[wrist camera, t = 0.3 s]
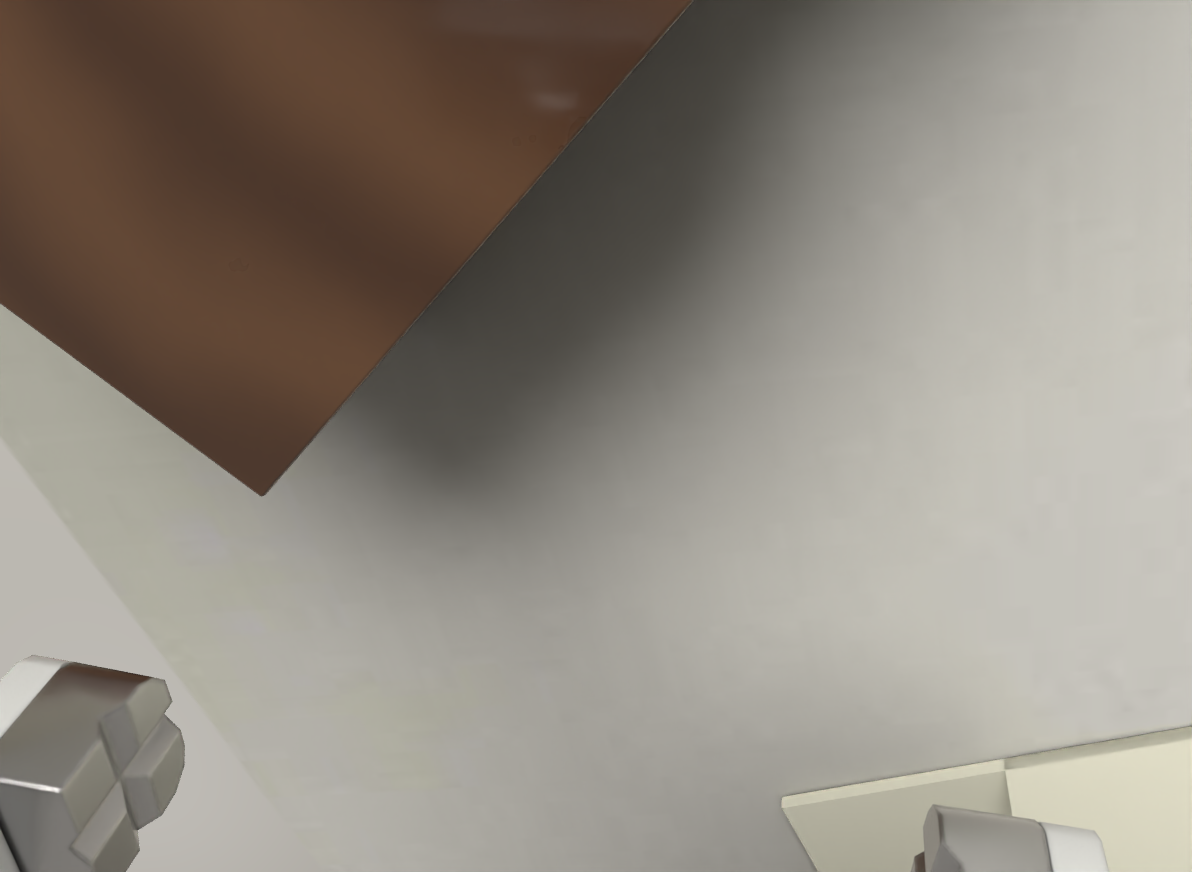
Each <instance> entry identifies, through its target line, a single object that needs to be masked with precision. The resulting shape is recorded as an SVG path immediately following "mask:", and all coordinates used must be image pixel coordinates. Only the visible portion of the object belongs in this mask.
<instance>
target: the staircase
mask: <svg viewBox="0 0 1192 872" xmlns="http://www.w3.org/2000/svg"><path fill="white" fill-rule="evenodd" d="M933 804H935V805H942V806H948V807H955V808H962V809H968V810H975V811H982V812H988V813H995V814H1001V815H1008V816H1015V817H1021V818H1028V819H1034V820H1036V821H1037V822H1046V823H1052V824H1058V825H1064V826H1070V827H1076V828H1082V829H1088V830H1094V831H1095V832H1096V833H1097V835H1098V836H1099V838H1100V839H1101V840H1102V844H1103V848H1104V852H1105V856H1106V860H1107V864H1108V868H1109V872H1192V726H1190V727H1185V728H1179V729H1173V730H1167V731H1162V732H1156V733H1150V734H1144V735H1138V736H1133V737H1127V738H1121V739H1115V740H1109V741H1104V742H1098V743H1092V744H1086V745H1080V746H1075V747H1069V748H1063V749H1057V750H1052V751H1046V752H1040V753H1034V754H1028V755H1023V756H1017V757H1011V758H1005V759H999V760H994V761H988V762H982V763H976V764H970V765H965V766H959V767H953V768H947V769H941V770H936V771H930V772H924V773H918V774H913V775H907V776H901V777H895V778H889V779H884V780H878V781H872V782H866V783H860V784H855V785H849V786H843V787H837V788H831V789H826V790H820V791H814V792H808V793H803V794H797V795H791V796H785V797H782V809H783V811H784V813H785V815H786V816H787V818H788V820H789V822H790V823H791V825H792V827H793V829H794V830H795V832H796V834H797V836H798V837H799V839H800V841H801V842H802V844H803V846H804V848H805V849H806V851H807V853H808V855H809V856H810V858H811V860H812V862H813V863H814V865H815V867H816V869H817V870H818V872H911V869H912V865H913V861H914V856H916V855H918V854H920V853H921V852H923V851H924V838H923V825H924V822H925V819H926V816H927V812H928V810H929V809H930V808H931V806H932V805H933Z"/></svg>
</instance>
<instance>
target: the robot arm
mask: <svg viewBox="0 0 1192 872" xmlns="http://www.w3.org/2000/svg"><path fill="white" fill-rule="evenodd" d="M171 703H172V699H171V696H170V693H169V690H168V688H167V685H166V682H165V680H162V679H158V678H154V677H149V676H143V675H138V674H133V673H128V672H123V671H118V670H113V669H107V668H102V667H97V666H92V665H87V664H81V663H77V662H70V661H65V660H59V659H54V658H48V657H42V656H36V655H31V656H30V657H27V658H25V659H23V660H21V661H19V662H17V663H16V664H15V665H14V666H13V667H12V668H11V669H10V670H9V672H8V673H7V674H6V675H5V676H4V677H3V678H2V679H1V680H0V872H126V871H127V869H128V868H129V866H130V865H131V863H132V861H133V860H134V858H135V857H136V855H137V854H138V852H139V851H140V849H139V839H138V830H139V829H140V828H142V827H144V826H145V825H147V824H148V823H150V822H152V821H153V820H155V819H157V818H158V817H160V816H161V815H162V814H163V813H164V811H165V809H166V808H167V806H168V804H169V803H170V801H171V799H172V798H173V796H174V795H175V793H176V790H177V787H178V784H179V781H180V778H181V775H182V771H183V768H184V756H185V745H184V741H183V738H182V733H181V730H180V729H179V728H178V727H177V726H176V725H175V724H174V723H173V722H172V721H171V720H170V719H169V718H168V717H167V716H166V715H165V714H164V713H165V712H166V710H167V709H168V707H169V706H170V704H171ZM923 838H924V851H923V852H921V853H920V854H918V855H916V856H914V861H913V865H912V869H911V872H1109V868H1108V864H1107V860H1106V856H1105V852H1104V848H1103V844H1102V840H1101V839H1100V838H1099V836H1098V835H1097V833H1096V832H1095V831H1094V830H1088V829H1082V828H1076V827H1070V826H1064V825H1058V824H1052V823H1046V822H1037V821H1036V820H1034V819H1028V818H1021V817H1015V816H1008V815H1001V814H995V813H988V812H982V811H975V810H968V809H962V808H955V807H948V806H942V805H935V804H933V805H932V806H931V808H930V809H929V810H928V812H927V816H926V819H925V822H924V825H923Z"/></svg>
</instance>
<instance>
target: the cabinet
mask: <svg viewBox="0 0 1192 872" xmlns="http://www.w3.org/2000/svg"><path fill="white" fill-rule="evenodd" d="M693 1H694V0H0V304H2V305H3V306H4V307H6V308H7V309H8V310H10V311H11V312H13V313H14V314H15V315H17V316H18V317H19V318H21V319H22V320H23V321H25V322H26V323H27V324H29V325H30V326H31V327H33V328H34V329H35V330H37V331H38V332H40V333H41V334H42V335H44V336H45V337H46V338H48V339H49V340H50V341H52V342H53V343H54V344H56V345H57V346H58V347H60V348H61V349H62V350H64V351H65V352H66V353H68V354H69V355H71V356H72V357H73V358H75V359H76V360H77V361H79V362H80V363H81V364H83V365H84V366H85V367H87V368H88V369H89V370H91V371H92V372H93V373H95V374H96V375H98V376H99V377H100V378H102V379H103V380H104V381H106V382H107V383H108V384H110V385H111V386H112V387H114V388H115V389H116V390H118V391H119V392H120V393H122V394H123V395H125V396H126V397H127V398H129V399H130V400H131V401H133V402H134V403H135V404H137V405H138V406H139V407H141V408H142V409H143V410H145V411H146V412H147V413H149V414H150V415H152V416H153V417H154V418H156V419H157V420H158V421H160V422H161V423H162V424H164V425H165V426H166V427H168V428H169V429H170V430H172V431H173V432H174V433H176V434H177V435H179V436H180V437H181V438H183V439H184V440H185V441H187V442H188V443H189V444H191V445H192V446H193V447H195V448H196V449H197V450H199V451H200V452H201V453H203V454H204V455H205V456H207V457H208V458H210V459H211V460H212V461H214V462H215V463H216V464H218V465H219V466H220V467H222V468H223V469H224V470H226V471H227V472H228V473H230V474H231V475H232V476H234V477H235V478H237V479H238V480H239V481H241V482H242V483H243V484H245V485H246V486H247V487H249V488H250V489H251V490H253V491H254V492H255V493H257V494H258V495H259V496H264V495H266V494H267V492H268V491H269V490H270V489H271V488H272V487H273V486H274V484H275V483H276V482H277V481H278V480H279V479H280V477H281V476H282V475H283V474H284V473H285V472H286V471H287V469H288V468H289V467H290V466H291V465H292V464H293V462H294V461H295V460H296V459H297V458H298V457H299V456H300V454H301V453H302V452H303V451H304V450H305V449H306V447H307V446H308V445H309V444H310V443H311V442H312V441H313V439H314V438H315V437H316V436H317V435H318V434H319V432H320V431H321V430H322V429H323V428H324V427H325V426H326V424H327V423H328V422H329V421H330V420H331V419H332V417H333V416H334V415H335V414H336V413H337V412H338V411H339V409H340V408H341V407H342V406H343V405H344V404H345V402H346V401H347V400H348V399H349V398H350V397H351V396H352V394H353V393H354V392H355V391H356V390H357V389H358V387H359V386H360V385H361V384H362V383H363V382H364V381H365V379H366V378H367V377H368V376H369V375H370V374H371V373H372V371H373V370H374V369H375V368H376V367H377V366H378V364H379V363H380V362H381V361H382V360H383V359H384V358H385V356H386V355H387V354H388V353H389V352H390V351H391V349H392V348H393V347H394V346H395V345H396V344H397V343H398V341H399V340H400V339H401V338H402V337H403V336H404V334H405V333H406V332H407V331H408V330H409V329H410V328H411V326H412V325H413V324H414V323H415V322H416V321H417V319H418V318H419V317H420V316H421V315H422V314H423V313H424V311H425V310H426V309H427V308H428V307H429V306H430V304H431V303H432V302H433V301H434V300H435V299H436V298H437V296H438V295H439V294H440V293H441V292H442V291H443V289H444V288H445V287H446V286H447V285H448V284H449V283H450V281H451V280H452V279H453V278H454V277H455V276H456V274H457V273H458V272H459V271H460V270H461V269H462V268H463V266H464V265H465V264H466V263H467V262H468V261H469V259H470V258H471V257H472V256H473V255H474V254H475V253H476V251H477V250H478V249H479V248H480V247H481V246H482V245H483V243H484V242H485V241H486V240H487V239H488V238H489V236H490V235H491V234H492V233H493V232H494V231H495V230H496V228H497V227H498V226H499V225H500V224H501V223H502V221H503V220H504V219H505V218H506V217H507V216H508V215H509V213H510V212H511V211H512V210H513V209H514V208H515V206H516V205H517V204H518V203H519V202H520V201H521V200H522V198H523V197H524V196H525V195H526V194H527V193H528V191H529V190H530V189H531V188H532V187H533V186H534V185H535V183H536V182H537V181H538V180H539V179H540V178H541V176H542V175H543V174H544V173H545V172H546V171H547V170H548V168H549V167H550V166H551V165H552V164H553V163H554V161H555V160H556V159H557V158H558V157H559V156H560V155H561V153H562V152H563V151H564V150H565V149H566V148H567V146H568V145H569V144H570V143H571V142H572V141H573V140H574V138H575V137H576V136H577V135H578V134H579V133H580V132H581V130H582V129H583V128H584V127H585V126H586V125H587V123H588V122H589V121H590V120H591V119H592V118H593V117H594V115H595V114H596V113H597V112H598V111H599V110H600V108H601V107H602V106H603V105H604V104H605V103H606V102H607V100H608V99H609V98H610V97H611V96H612V95H613V93H614V92H615V91H616V90H617V89H618V88H619V87H620V85H621V84H622V83H623V82H624V81H625V80H626V78H627V77H628V76H629V75H630V74H631V73H632V72H633V70H634V69H635V68H636V67H637V66H638V65H639V63H640V62H641V61H642V60H643V59H644V58H645V57H646V55H647V54H648V53H649V52H650V51H651V50H652V48H653V47H654V46H655V45H656V44H657V43H658V42H659V40H660V39H661V38H662V37H663V36H664V35H665V33H666V32H667V31H668V30H669V29H670V28H671V27H672V25H673V24H674V23H675V22H676V21H677V20H678V18H679V17H680V16H681V15H682V14H683V13H684V12H685V10H686V9H687V8H688V7H689V6H690V5H691V4H692V2H693Z"/></svg>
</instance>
